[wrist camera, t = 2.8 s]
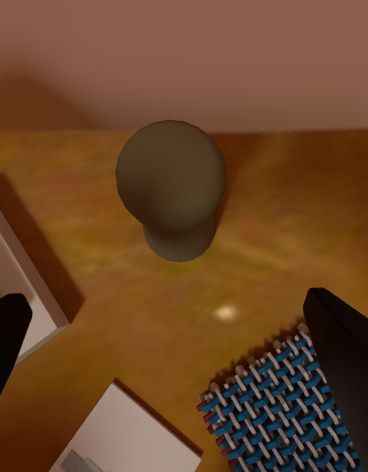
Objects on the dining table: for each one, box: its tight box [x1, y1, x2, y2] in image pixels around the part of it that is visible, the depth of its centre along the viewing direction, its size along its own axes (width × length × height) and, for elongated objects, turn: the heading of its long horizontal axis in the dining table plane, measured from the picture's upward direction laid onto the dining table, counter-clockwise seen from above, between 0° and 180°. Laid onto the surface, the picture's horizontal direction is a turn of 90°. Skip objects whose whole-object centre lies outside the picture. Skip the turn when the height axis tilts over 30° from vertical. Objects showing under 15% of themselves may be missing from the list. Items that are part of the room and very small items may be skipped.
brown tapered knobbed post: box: [115, 120, 227, 262], centre depth 16 cm, size 6×6×11 cm
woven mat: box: [197, 323, 364, 472], centre depth 17 cm, size 10×11×2 cm
